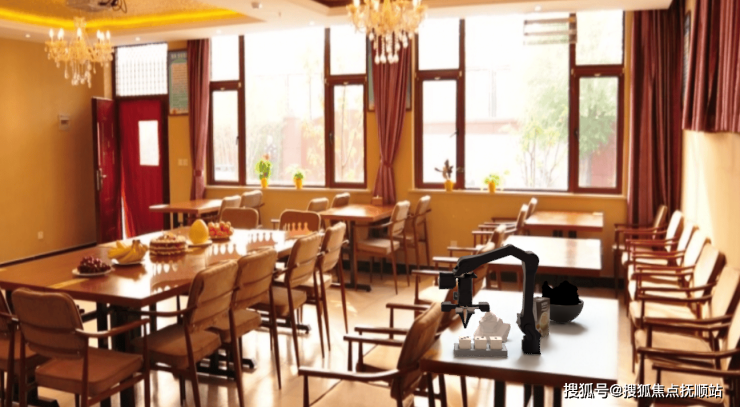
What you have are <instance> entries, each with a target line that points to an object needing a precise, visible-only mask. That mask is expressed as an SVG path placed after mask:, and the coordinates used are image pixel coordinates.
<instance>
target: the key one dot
mask: <svg viewBox="0 0 740 407" xmlns="http://www.w3.org/2000/svg"><path fill="white" fill-rule="evenodd" d="M502 344H503V341H502V338H501V337H490V349H502Z"/></svg>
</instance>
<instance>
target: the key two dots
mask: <svg viewBox="0 0 740 407" xmlns="http://www.w3.org/2000/svg"><path fill="white" fill-rule="evenodd" d="M473 343H474V347H475V349H487V340H486V337H480V336H474V335H473Z"/></svg>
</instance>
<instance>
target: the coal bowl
mask: <svg viewBox="0 0 740 407" xmlns="http://www.w3.org/2000/svg"><path fill="white" fill-rule="evenodd" d="M548 282H549V281H547V280H544V281H543V284H542V285H541V297H545V298H550V320H549V321H551V322H554V323H559V324H565V323H566V324H567V323H570V322H571V321H574V320H575V319H577V318H578V317H579V315H581V313H582V312H583V309H584V306H585V301H584V300H583V299H581V298H580V295H579V293H578V290H579V288H578V287H577V286H576V285H574V284H573V283H570V282H569V281H568V280H566V279H565V280H563V281H562V282H560V283H559V285H558V286H554V287H553V288H552V287H551V286H550V285H549V283H548Z"/></svg>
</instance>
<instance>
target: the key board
mask: <svg viewBox="0 0 740 407" xmlns="http://www.w3.org/2000/svg"><path fill="white" fill-rule="evenodd" d="M453 349H454V350H453V351H454V356H455V357H494V358H499V357H500V358H503V357H504V358H508V352H509V351H508V348H507V346H506V343H502V349H490V343H487V349H475V347H474V342H471V349H459V342H454V343H453Z"/></svg>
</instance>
